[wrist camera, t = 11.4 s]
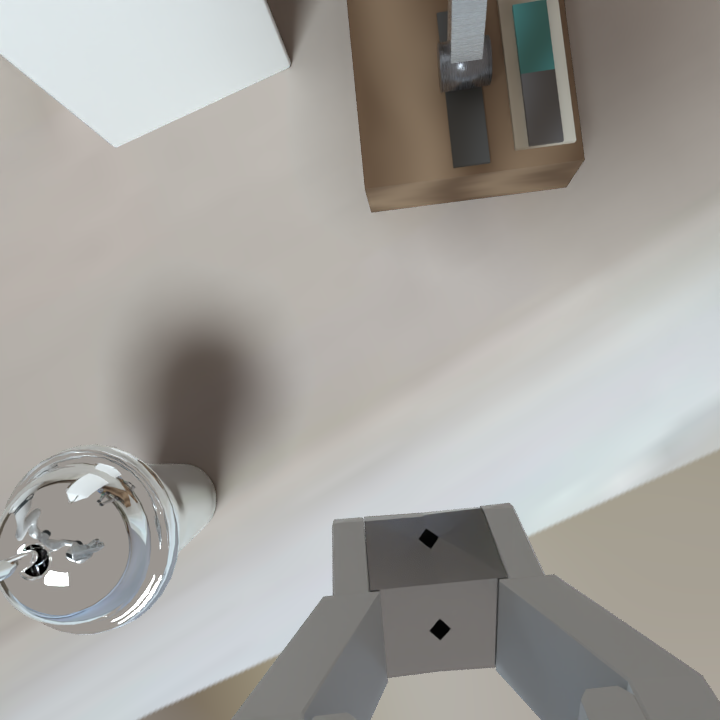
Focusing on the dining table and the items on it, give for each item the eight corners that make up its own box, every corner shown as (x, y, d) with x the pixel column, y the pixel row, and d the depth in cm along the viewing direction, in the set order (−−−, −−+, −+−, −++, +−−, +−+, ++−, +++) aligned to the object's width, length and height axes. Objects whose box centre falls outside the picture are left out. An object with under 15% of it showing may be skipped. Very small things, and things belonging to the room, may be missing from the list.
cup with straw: (256, 558, 35) (35, 766, 15) (120, 578, 36) (-258, 799, 16) (236, 422, 36) (0, 449, 16) (103, 445, 37) (-279, 499, 17)
